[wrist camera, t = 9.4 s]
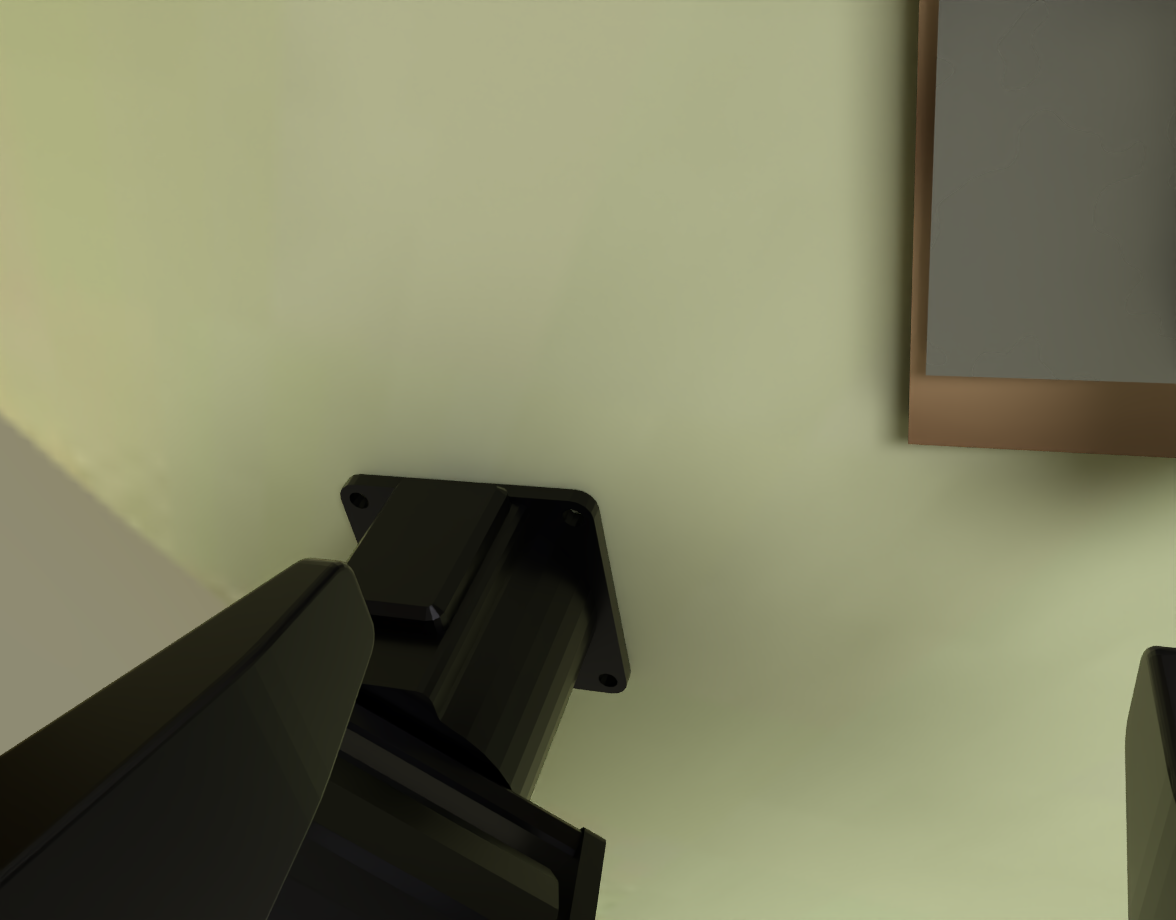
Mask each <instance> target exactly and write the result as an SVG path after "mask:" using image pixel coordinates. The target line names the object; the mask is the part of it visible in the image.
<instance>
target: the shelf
mask: <svg viewBox="0 0 1176 920" xmlns="http://www.w3.org/2000/svg"><path fill="white" fill-rule="evenodd" d="M938 14H939V0H919V30H918V70H917V110H916V150H915V190H914V230H913V270H912V310H911V350H910V390H909V430H908V444H919V445H939V446H958V447H977V448H996V449H1015V450H1034V451H1053V452H1072V453H1091V454H1111V455H1130V456H1149V457H1168V458H1176V384H1174V383H1144V382H1114V381H1083V380H1053V379H1022V378H992V377H962V376H931V375H926V354H927V325H928V297H929V269H930V240H931V212H932V184H933V155H934V127H935V99H936V71H937V42H938Z"/></svg>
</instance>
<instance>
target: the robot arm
mask: <svg viewBox="0 0 1176 920" xmlns="http://www.w3.org/2000/svg"><path fill="white" fill-rule="evenodd" d="M361 494H362V495H364V496H365V497H364V496H362V495H361ZM340 495H341V500H342V503H343V505H344V508H345V511H346V513H347V516H348V519H349V521H350V524H351V527H352V529H353V532H354V535H355V537H356V540H357V543H358V545H357V547H356V548H355V550H354V551H353V553H352V554H351V556H350V557H349V559H348V560H347V562H346V563H345V562H342V561H336V560H327V559H317V558H306V559H302V560H300V561H298V562H296V563H295V564H293V565H291V566H290V567H288V568H287V569H285V570H284V571H282V572H281V573H279V574H278V575H276V576H275V577H273V578H272V579H270V580H268V581H267V582H265V583H264V584H262V585H261V586H259V587H258V588H256V589H255V590H253V591H252V592H250V593H249V594H247V595H246V596H244V597H242V598H241V599H239V600H238V601H236V602H235V603H233V604H232V605H230V606H229V607H227V608H226V609H224V610H223V611H221V612H220V613H218V614H217V615H215V616H214V617H212V618H210V619H209V620H207V621H206V622H204V623H203V624H201V625H200V626H198V627H197V628H195V629H193V630H192V631H190V632H189V633H187V634H186V635H184V636H183V637H181V638H180V639H178V640H177V641H175V642H174V643H172V644H171V645H169V646H168V647H166V648H164V649H163V650H161V651H160V652H158V653H157V654H155V655H154V656H152V657H151V658H149V659H148V660H146V661H145V662H143V663H141V664H140V665H138V666H137V667H135V668H134V669H132V670H131V671H130V672H128V673H126V674H125V675H123V676H122V677H120V678H119V679H117V680H115V681H114V682H112V683H111V684H109V685H108V686H106V687H105V688H103V689H102V690H100V691H99V692H97V693H95V694H94V695H92V696H91V697H89V698H88V699H86V700H85V701H83V702H82V703H80V704H79V705H77V706H76V707H74V708H73V709H71V710H69V711H68V712H66V713H65V714H63V715H62V716H60V717H59V718H57V719H56V720H54V721H53V722H51V723H50V724H48V725H46V726H45V727H43V728H42V729H40V730H39V731H37V732H36V733H34V734H33V735H31V736H30V737H28V738H27V739H25V740H24V741H22V742H20V743H19V744H17V745H16V746H14V747H13V748H11V749H10V750H8V751H7V752H5V753H4V754H2V755H1V756H0V920H595V916H596V909H597V902H598V895H599V888H600V881H601V874H602V867H603V860H604V853H605V846H606V840H605V839H604V838H602V837H600V836H598V835H597V834H595V833H593V832H591V831H590V830H588V829H586V828H584V827H583V828H581V829H580V830H579V829H577V828H576V827H574V826H572V825H571V824H569V823H567V822H565V821H564V820H562V819H560V818H558V817H557V816H555V815H553V814H551V813H550V812H548V811H546V810H544V809H543V808H541V807H539V806H538V805H536V804H534V803H532V802H531V801H529V800H530V797H531V795H532V792H533V790H534V787H535V785H536V782H537V779H538V777H539V774H540V772H541V769H542V767H543V764H544V761H545V759H546V756H547V754H548V751H549V749H550V746H551V743H552V741H553V738H554V736H555V733H556V731H557V728H558V725H559V723H560V720H561V718H562V715H563V713H564V710H565V707H566V705H567V702H568V700H569V697H570V695H571V692H572V689H573V688H575V689H583V690H590V691H598V692H605V693H619V692H622V691H624V690H625V688H626V687H627V684H628V681H629V678H630V673H631V670H630V665H629V660H628V654H627V649H626V644H625V639H624V634H623V629H622V624H621V618H620V613H619V608H618V603H617V598H616V593H615V588H614V583H613V577H612V572H611V567H610V562H609V557H608V552H607V547H606V541H605V536H604V531H603V526H602V521H601V516H600V511H599V507H598V505H597V502H596V501H595V500H594V499H593V498H592V497H591V496H590V495H588V494H587V493H585V492H583V491H578V490H572V489H559V488H545V487H531V486H517V485H503V484H489V483H475V482H461V481H447V480H433V479H420V478H406V477H392V476H378V475H364V474H359V475H353V476H352V477H350V478H349V480H348V481H347V482H346V484H345V485H344V487H343V488H342V490H341V493H340ZM570 509H572V510H576V511H578V512H579V513H580V514H582V515H578V514H574V513H573V512H572V511H570ZM1125 770H1126V821H1127V873H1128V918H1129V920H1176V648H1171V647H1161V646H1152V647H1150V648H1148V649H1146V650H1145V651H1144V653H1143V655H1142V657H1141V661H1140V665H1139V670H1138V674H1137V679H1136V683H1135V688H1134V692H1133V697H1132V701H1131V706H1130V710H1129V715H1128V720H1127V727H1126V737H1125Z"/></svg>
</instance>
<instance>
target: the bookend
mask: <svg viewBox="0 0 1176 920" xmlns="http://www.w3.org/2000/svg"><path fill="white" fill-rule="evenodd" d="M926 375H931V376H962V377H992V378H1022V379H1053V380H1083V381H1114V382H1144V383H1174V384H1176V0H939V14H938V42H937V71H936V99H935V127H934V155H933V184H932V212H931V240H930V269H929V297H928V325H927V354H926Z"/></svg>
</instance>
